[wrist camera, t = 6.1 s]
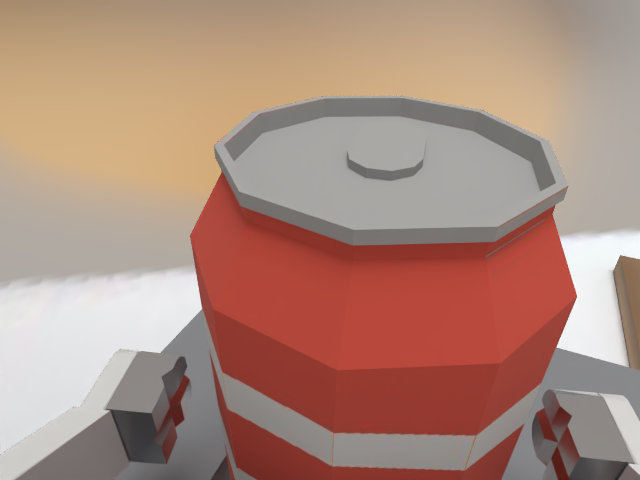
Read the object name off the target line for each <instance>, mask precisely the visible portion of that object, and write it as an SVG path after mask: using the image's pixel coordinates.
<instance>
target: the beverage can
mask: <svg viewBox="0 0 640 480" xmlns="http://www.w3.org/2000/svg"><path fill="white" fill-rule="evenodd" d="M214 150H215V157H216V160H217V162H218V164H219V166H220V168H221V170H222V173H221V175H220V177H219V179H218V181H217V183H216V185H215V187H214V189H213V191H212V193H211V195H210V197H209V199H208V201H207V203H206V205H205V207H204V209H203V211H202V213H201V215H200V217H199V219H198V221H197V223H196V225H195V227H194V229H193V231H192V233H191V235H190V237H191V244H192V250H193V256H194V262H195V268H196V274H197V280H198V286H199V292H200V298H201V304H202V310H203V316H204V322H205V328H206V334H207V340H208V346H209V353H210V359H211V365H212V371H213V377H214V383H215V389H216V395H217V401H218V407H219V413H220V419H221V425H222V431H223V437H224V443H225V449H226V455H227V461H228V467H229V473H230V479H231V480H502V477H503V475H504V472H505V470H506V467H507V465H508V463H509V460H510V458H511V455H512V453H513V450H514V448H515V446H516V443H517V441H518V438H519V436H520V434H521V431H522V429H523V426H524V424H525V421H526V419H527V417H528V414H529V412H530V409H531V407H532V405H533V402H534V400H535V397H536V395H537V392H538V390H539V388H540V385H541V383H542V380H543V378H544V375H545V373H546V371H547V368H548V366H549V363H550V361H551V359H552V356H553V354H554V351H555V349H556V346H557V344H558V342H559V339H560V337H561V334H562V332H563V330H564V327H565V325H566V322H567V320H568V317H569V315H570V313H571V310H572V308H573V305H574V303H575V300H576V298H577V295H576V291H575V288H574V285H573V281H572V278H571V275H570V271H569V268H568V265H567V261H566V258H565V255H564V251H563V248H562V245H561V241H560V238H559V235H558V232H557V229H556V225H555V222H554V219H553V215H552V213H553V211H554V208H555V205H556V204H557V203H559V202H561V201H562V200H564V197H565V194H566V191H567V188H568V184H567V181H566V179H565V177H564V174H563V172H562V170H561V167H560V165H559V163H558V161H557V158H556V156H555V154H554V151H553V149H552V147H551V145H550V142H549V141H548V140H546V139H543V138H541V137H539V136H537V135H535V134H532V133H530V132H528V131H526V130H524V129H522V128H520V127H518V126H515V125H513V124H511V123H509V122H507V121H505V120H503V119H501V118H498V117H496V116H494V115H492V114H490V113H488V112H485V111H483V110H478V109H472V108H467V107H461V106H456V105H450V104H445V103H439V102H434V101H428V100H422V99H417V98H412V97H405V96H321V97H317V98H312V99H308V100H304V101H299V102H295V103H290V104H286V105H282V106H277V107H273V108H269V109H264V110H260V111H256V112H252V113H251V114H250V115H249V116H248V117H247V118H245V119H244V120H243V121H242V122H241V123H239V124H238V125H237V126H236V127H235V128H233V129H232V130H231V131H230V132H229V133H228V134H226V135H225V136H224V137H223V138H222V139H220V140H219V141H218V142H217V143H216V144H214Z"/></svg>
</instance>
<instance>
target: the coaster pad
mask: <svg viewBox="0 0 640 480" xmlns="http://www.w3.org/2000/svg"><path fill="white" fill-rule="evenodd" d="M613 272H614V277H615V283H616V289H617V295H618V300H619V306H620V312H621V317H622V323H623V329H624V335H625V340H626V346H627V352H628V358H629V363H630V368H632V369H636V370H639V371H640V259H635V258H630V257H625V256H621V255H620V257H619V259H618V262H617V264H616V266H615V268H614V271H613Z"/></svg>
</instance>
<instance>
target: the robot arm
mask: <svg viewBox="0 0 640 480" xmlns="http://www.w3.org/2000/svg"><path fill="white" fill-rule="evenodd" d="M186 368H187V364H186V360H185V357H184V356H178V355H169V354H161V353H153V352H144V351H134V350H125V349H120V350H118V351H117V352H116V353H115V354H114V355H113V356H112V358H111V359H110V361H109V362H108V364H107V366H106V367H105V369H104V370H103V372H102V373H101V375H100V377H99V378H98V380H97V381H96V383H95V384H94V386H93V388H92V389H91V391H90V392H89V394H88V395H87V397H86V399H85V400H84V402H83V403H82V405H81V406H80V407H72V408H71V409H69V410H68V411H66V412H65V413H63V414H62V415H60V416H59V417H57V418H56V419H54V420H53V421H51V422H50V423H48V424H46V425H45V426H43V427H42V428H40V429H39V430H37V431H36V432H34V433H33V434H31V435H30V436H28V437H27V438H25V439H23V440H22V441H20V442H19V443H17V444H16V445H14V446H13V447H11V448H10V449H8V450H7V451H5V452H4V453H2V454H1V455H0V480H113V479H114V478H115V477H116V476H118V475H119V474H120V473H121V472H122V471H123V470H124V469H125V468H126V467H127V466H128V465H129V464H130V463H129V462H141V463H153V464H165V465H167V462H168V460H169V458H170V455H171V453H172V450H173V448H174V445H175V443H176V440H177V438H178V437H177V433H176V429H175V427H177V426H178V425H179V424H180V423H182V422H183V421H184V420H185V418H186V415H187V412H188V410H189V405H190V400H191V382H190V379H189V378H188V377H187V376H186V375H184V373H185V371H186ZM542 403H543V406H544V408H543V409H541V410H540V411H538V412H536V414H535V417H534V419H533V422H532V441H533V447H534V450H535V454H536V457H537V458H538V459H539V460H540V461H541V462H542V463H543V464H544V465H545V466H546V467H547V468H546V470H545V472H544V474H543V476H542V477H543V480H640V421H639V419H638V417H637V416H636V414H635V412H634V410H633V408H632V406H631V405H630V403H629V401H628V399H626V398H625V397H624V396H623V395H613V394H602V393H594V392H582V391H570V390H557V389H548V390H547V391H546V392H545V393H544V395H543V398H542Z"/></svg>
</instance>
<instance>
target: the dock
mask: <svg viewBox="0 0 640 480" xmlns="http://www.w3.org/2000/svg"><path fill="white" fill-rule="evenodd" d="M161 354H169V355H178V356H184V357H185V360H186V364H187V368H186V371H185V373H184V375H186V376H187V377H188V378H189V379H190V382H191V400H190V405H189V410H188V412H187V415H186V418H185V420H184V421H183V422H182V423H180V424H179V425H178V426H177V427H175V429H176V433H177V437H178V438H177V440H176V443H175V445H174V448H173V450H172V453H171V455H170V458H169V460H168V462H167V465H165V464H153V463H141V462H129V463H130V464H129V465H128V466H127V467H126V468H125V469H124V470H123V471H122V472H121V473H120V474H119V475H118V476H116V477H115V478H114V479H113V480H231V479H230V473H229V467H228V461H227V455H226V449H225V443H224V437H223V431H222V425H221V419H220V413H219V407H218V401H217V395H216V389H215V383H214V377H213V371H212V365H211V359H210V353H209V346H208V340H207V334H206V328H205V322H204V316H203V310H201V311H200V312H199V313H198V314H197V315H196V316H195V317H194V318H193V319H192V320H191V321H190V323H189V324H188V325H187V326H186V327H185V328H184V329H183V330H182V331H181V332H180V333H179V334H178V335H177V336H176V337H175V338H174V339H173V340H172V341H171V343H170V344H169V345H168V346H167V347H166V348H165V349H164V350H163V351H162V352H161ZM548 389H557V390H570V391H582V392H594V393H602V394H613V395H623V396H624V397H625V398H626V399H628V401H629V403H630V405H631V406H632V408H633V410H634V412H635V414H636V416H637V417H638V419H639V421H640V371H639V370H636V369H632V368H628V367H625V366H621V365H617V364H614V363H610V362H607V361H603V360H599V359H596V358H592V357H588V356H585V355H581V354H577V353H574V352H570V351H567V350H563V349H559V348H556V349H555V351H554V354H553V356H552V359H551V361H550V363H549V366H548V368H547V371H546V373H545V375H544V378H543V380H542V383H541V385H540V388H539V390H538V392H537V395H536V397H535V400H534V402H533V405H532V407H531V409H530V412H529V414H528V417H527V419H526V421H525V424H524V426H523V429H522V431H521V434H520V436H519V438H518V441H517V443H516V446H515V448H514V450H513V453H512V455H511V458H510V460H509V463H508V465H507V467H506V470H505V472H504V475H503V477H502V480H543V477H542V476H543V474H544V472H545V470H546V468H547V467H546V466H545V465H544V464H543V463H542V462H541V461H540V460H539V459H538V458H537V457H536V454H535V450H534V447H533V441H532V422H533V419H534V417H535V414H536V412H538V411H540V410H541V409H543V408H544V406H543V403H542V398H543V395H544V393H545V392H546V391H547V390H548Z"/></svg>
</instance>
